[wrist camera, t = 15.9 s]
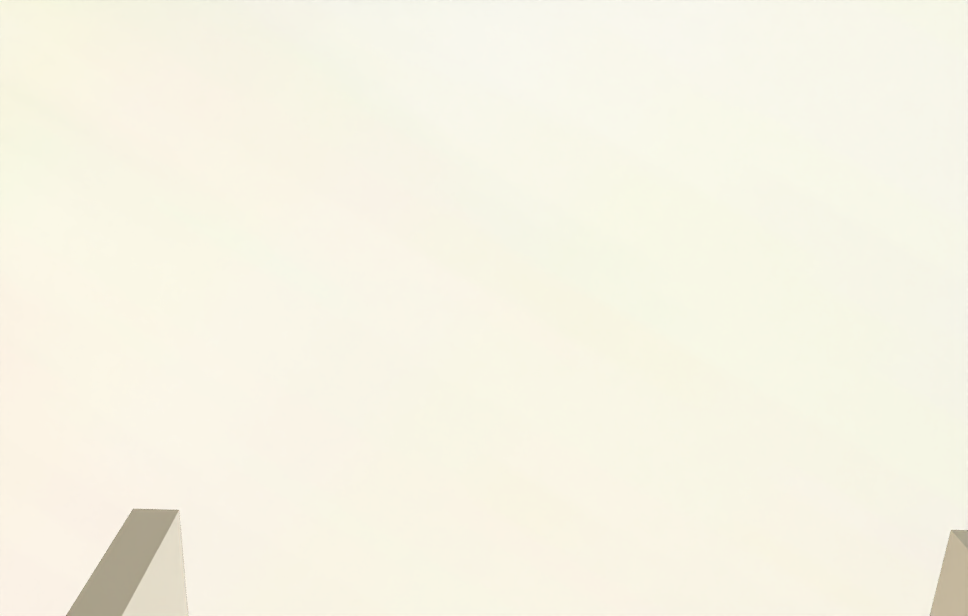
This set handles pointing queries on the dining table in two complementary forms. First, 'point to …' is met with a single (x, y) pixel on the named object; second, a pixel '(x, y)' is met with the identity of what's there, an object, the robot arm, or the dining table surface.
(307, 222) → the dining table surface
